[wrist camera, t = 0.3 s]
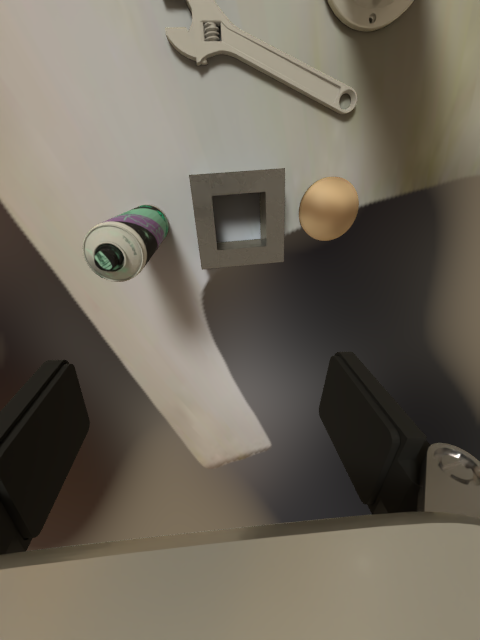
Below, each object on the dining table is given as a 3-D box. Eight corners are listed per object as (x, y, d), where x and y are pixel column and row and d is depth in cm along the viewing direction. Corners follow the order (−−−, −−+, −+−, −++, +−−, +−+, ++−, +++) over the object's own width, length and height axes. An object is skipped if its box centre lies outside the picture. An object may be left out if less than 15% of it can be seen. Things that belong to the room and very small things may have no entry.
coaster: (300, 179, 40) (301, 179, 39) (360, 174, 40) (362, 174, 39) (297, 242, 44) (299, 243, 43) (352, 237, 44) (354, 238, 44)
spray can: (162, 249, 42) (128, 301, 25) (126, 233, 41) (63, 277, 23) (174, 215, 40) (146, 245, 22) (136, 197, 39) (76, 215, 21)
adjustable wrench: (356, 95, 36) (363, 91, 34) (330, 147, 39) (335, 146, 37) (171, -33, 29) (169, -44, 27) (154, 41, 32) (151, 34, 30)
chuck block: (191, 175, 38) (189, 175, 34) (276, 169, 39) (284, 168, 34) (202, 259, 44) (201, 269, 39) (276, 253, 44) (283, 261, 40)
